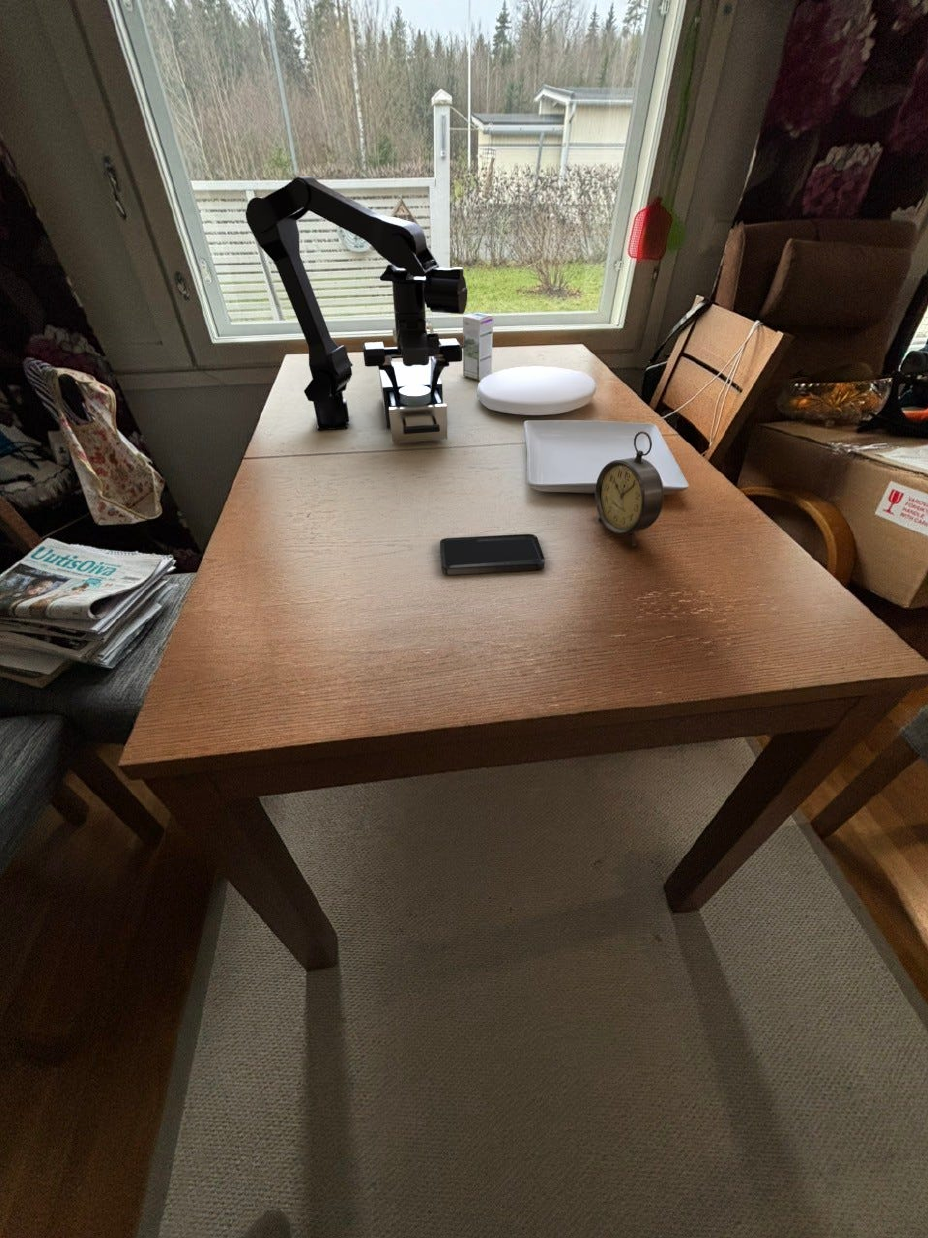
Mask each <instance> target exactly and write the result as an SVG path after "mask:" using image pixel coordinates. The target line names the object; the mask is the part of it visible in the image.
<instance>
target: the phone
mask: <svg viewBox="0 0 928 1238" xmlns="http://www.w3.org/2000/svg"><path fill="white" fill-rule="evenodd" d="M439 552H440V564H441V571H442V573H443V574H445V575H447V576H448V575H449V576H451V575H452V576H454V575H470V574H471V575H472V574H488V573H490V574H491V573H504V572H505V573H508V572H524V571H525V572H526V571H527V572H528V571H540V570H542V569H544V567H545V563H546V559H545V555H544V553H543V550H542V546H541V544H540V541H539V538H538V536H537V535H535V534H533V533H517V534H516V533H515V534H498V535H496V534H495V535H476V536H459V537H456V536H455V537H444V538H442V539H440V541H439Z"/></svg>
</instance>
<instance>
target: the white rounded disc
mask: <svg viewBox="0 0 928 1238" xmlns="http://www.w3.org/2000/svg"><path fill="white" fill-rule="evenodd" d="M596 389H597V383H596V381H595V379H594V378H593V377H592V376H590V375H588V374H586V373H584V372H581V371H578V370H573V369H569V368H562V367H555V366H554V367H553V366H537V365H535V366H533V365H532V366H518V367H512V368H506V369H502V370H498V371H496V372H493V373H492V374H490V375H488V376H486V377H485V378H483V379H482V380H480V381H479V382H478V385H477V388H476V395H477V396H476V397H477V398H478V401H479V402H480V403H481V404H482V405H483V406H484V407H486V408H487V409H489V410H491V411H496V412H499V413H505V414H506V413H507V414H513V415H526V416H544V415H547V416H548V415H557V414H563V413H569V412H572V411H574V410H577V409H579V408H583V407H585V406H587V405H588V404H589V403H591V402H592V400H593V398H594V397H595V395H596Z"/></svg>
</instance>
